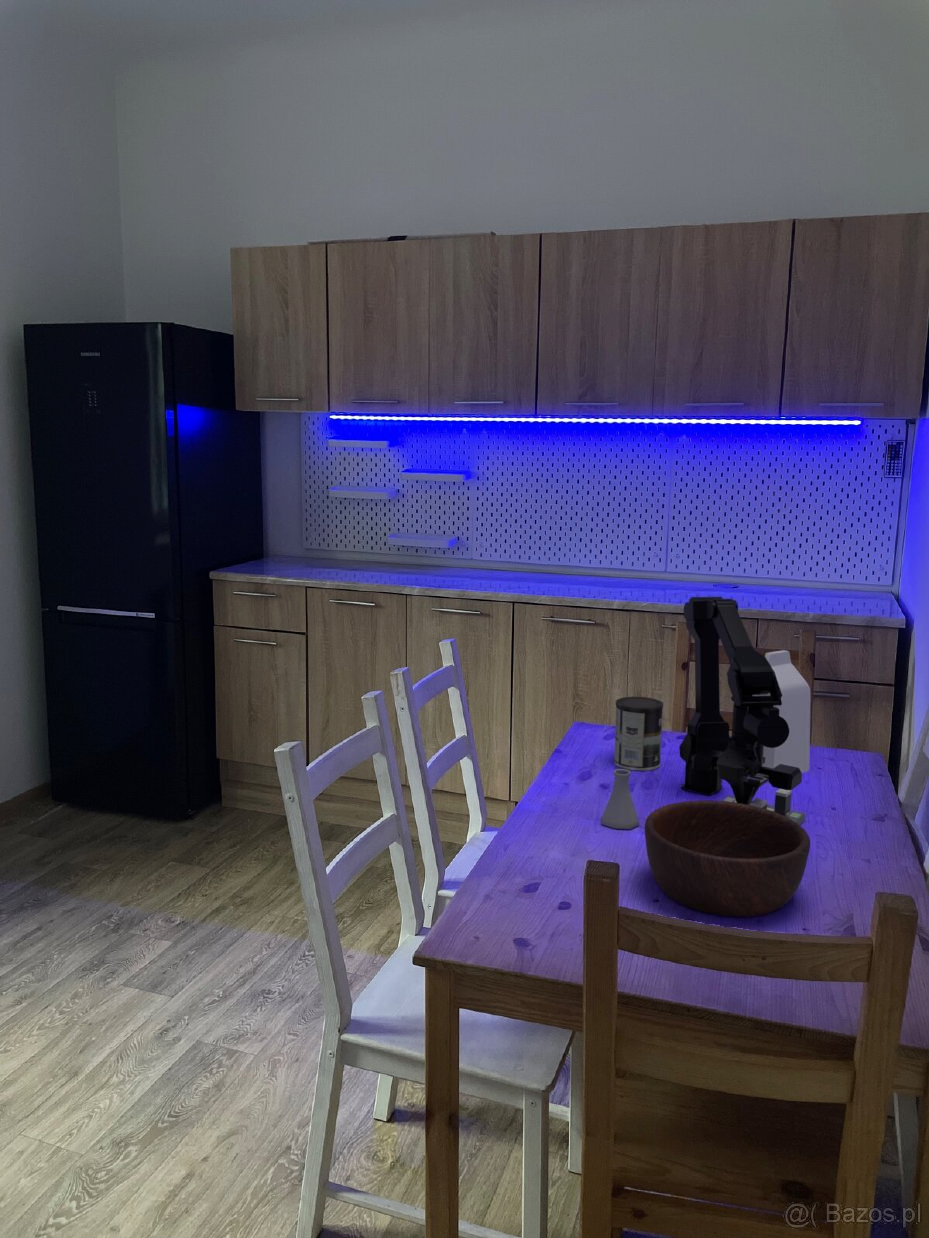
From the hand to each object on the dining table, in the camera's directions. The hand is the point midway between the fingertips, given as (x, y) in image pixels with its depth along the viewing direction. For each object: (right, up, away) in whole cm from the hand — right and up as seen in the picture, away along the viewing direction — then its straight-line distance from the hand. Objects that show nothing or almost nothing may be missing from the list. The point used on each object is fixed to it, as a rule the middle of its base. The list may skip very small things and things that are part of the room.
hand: (742, 813), depth 177 cm
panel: (0, -3, 0) cm, 3 cm away
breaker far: (+9, 0, +4) cm, 10 cm away
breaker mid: (+2, -1, -1) cm, 3 cm away
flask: (-22, -3, +3) cm, 22 cm away
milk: (+16, +3, +35) cm, 38 cm away
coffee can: (-13, +3, +37) cm, 39 cm away
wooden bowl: (-10, -7, -24) cm, 27 cm away
